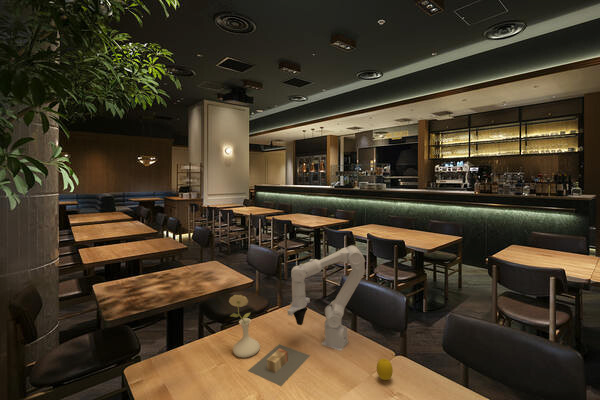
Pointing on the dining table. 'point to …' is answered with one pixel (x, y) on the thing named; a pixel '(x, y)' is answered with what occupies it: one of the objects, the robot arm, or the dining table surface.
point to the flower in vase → (246, 344)
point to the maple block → (277, 360)
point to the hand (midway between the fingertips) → (299, 324)
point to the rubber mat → (285, 371)
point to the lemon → (384, 369)
